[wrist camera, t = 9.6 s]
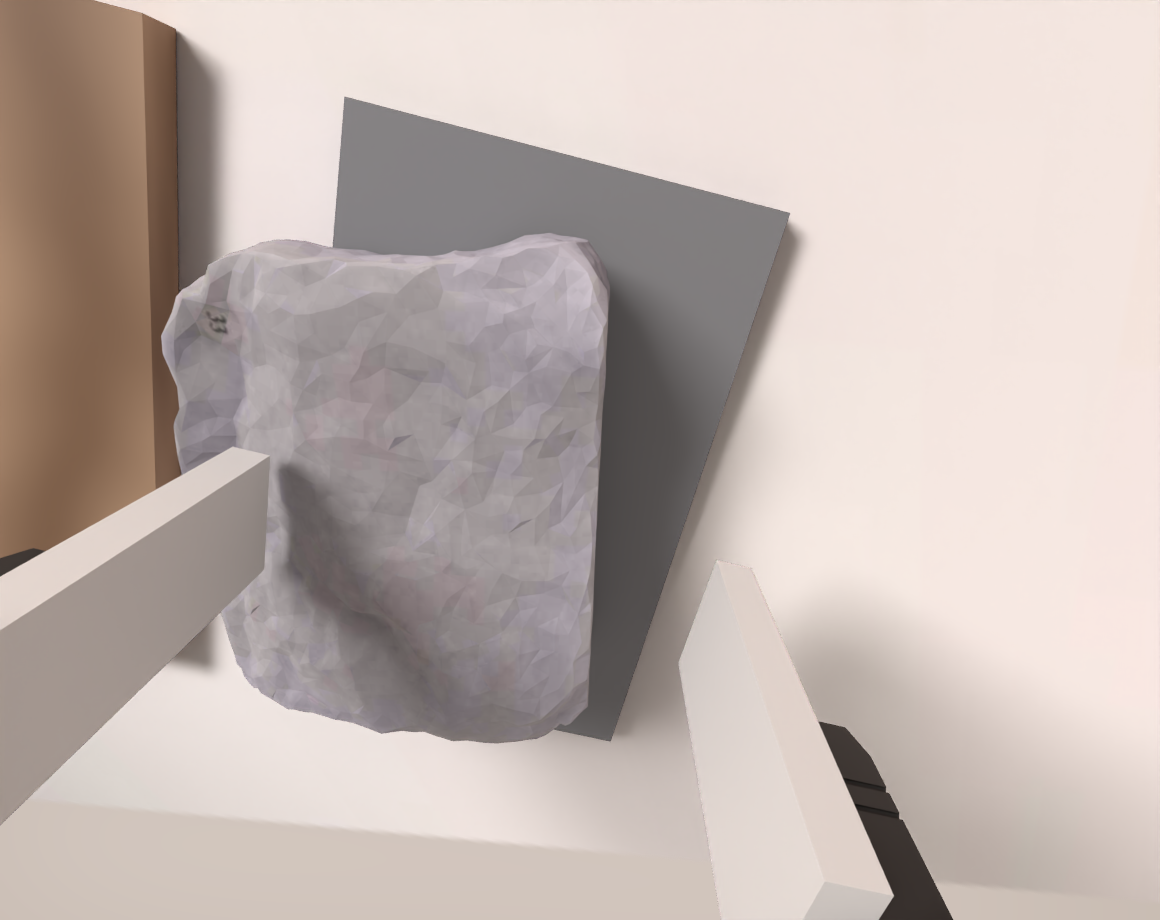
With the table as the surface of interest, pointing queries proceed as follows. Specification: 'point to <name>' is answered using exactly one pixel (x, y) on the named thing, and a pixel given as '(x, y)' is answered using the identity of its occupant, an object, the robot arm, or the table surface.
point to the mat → (635, 323)
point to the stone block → (409, 474)
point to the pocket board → (84, 265)
